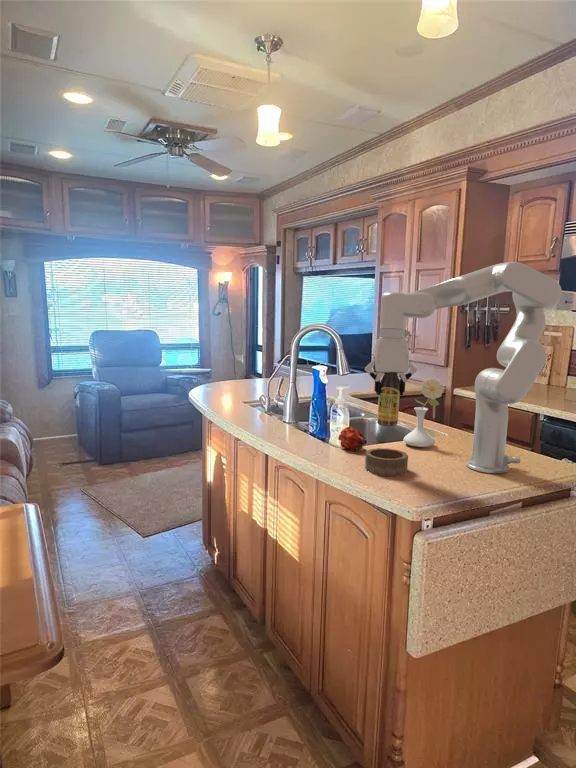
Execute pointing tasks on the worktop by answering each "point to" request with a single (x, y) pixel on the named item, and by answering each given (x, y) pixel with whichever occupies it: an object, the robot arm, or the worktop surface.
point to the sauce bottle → (389, 400)
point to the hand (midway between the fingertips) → (389, 393)
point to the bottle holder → (386, 462)
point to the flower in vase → (419, 434)
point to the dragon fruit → (351, 438)
